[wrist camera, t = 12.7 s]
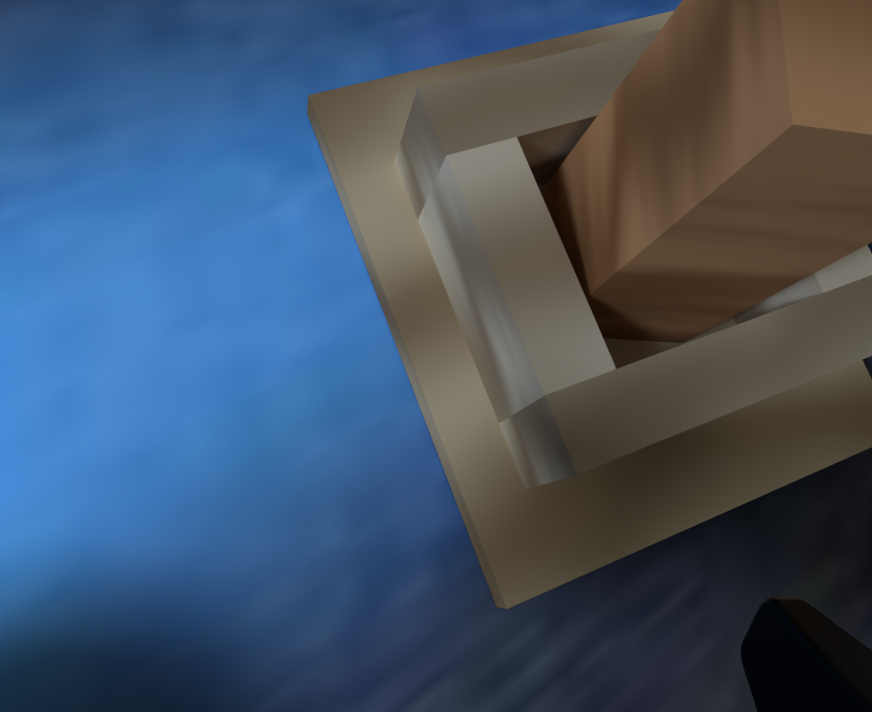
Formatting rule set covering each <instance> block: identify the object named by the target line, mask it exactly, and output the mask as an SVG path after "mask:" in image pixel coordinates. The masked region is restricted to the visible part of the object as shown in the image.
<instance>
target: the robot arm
mask: <svg viewBox="0 0 872 712" xmlns="http://www.w3.org/2000/svg"><path fill="white" fill-rule="evenodd" d="M741 659H742V664H743V667H744V671H745V674H746V677H747V680H748V683H749V687H750V690H751V693H752V696H753V699H754V703H755V706H756V709H757V712H872V651H871V650H870V649H869V648H867V647H866V646H865V645H863V644H862V643H861V642H859V641H858V640H857V639H855V638H854V637H853V636H851V635H850V634H848V633H847V632H846V631H844V630H843V629H842V628H840V627H839V626H838V625H836V624H835V623H834V622H832V621H831V620H830V619H828V618H827V617H826V616H824V615H823V614H822V613H820V612H819V611H817V610H816V609H815V608H813V607H812V606H811V605H809V604H808V603H807V602H805V601H804V600H802V599H799V598H795V597H770V598H767V599H765V600H764V601H763V602H762V603H761V605H760V606H759V608H758V610H757V612H756V614H755V616H754V619H753V621H752V623H751V625H750V627H749V629H748V631H747V633H746V635H745V637H744V639H743V642H742V646H741Z"/></svg>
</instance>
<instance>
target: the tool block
mask: <svg viewBox="0 0 872 712" xmlns="http://www.w3.org/2000/svg"><path fill="white" fill-rule="evenodd" d="M673 13H674V11H671V12H666V13H662V14H658V15H653V16H649V17H645V18H640V19H636V20H632V21H627V22H623V23H619V24H614V25H610V26H606V27H601V28H597V29H593V30H589V31H584V32H580V33H576V34H571V35H567V36H563V37H558V38H554V39H550V40H545V41H541V42H537V43H532V44H528V45H524V46H519V47H515V48H511V49H506V50H502V51H498V52H493V53H489V54H485V55H480V56H476V57H472V58H467V59H463V60H459V61H454V62H450V63H446V64H441V65H437V66H433V67H428V68H424V69H420V70H415V71H411V72H407V73H402V74H398V75H394V76H390V77H385V78H381V79H377V80H372V81H368V82H364V83H359V84H355V85H351V86H346V87H342V88H338V89H333V90H329V91H325V92H320V93H316V94H312V95H309V97H308V108H307V114H308V117H309V119H310V122H311V124H312V127H313V130H314V132H315V135H316V137H317V140H318V143H319V145H320V148H321V151H322V153H323V156H324V158H325V161H326V164H327V166H328V169H329V171H330V174H331V177H332V179H333V182H334V184H335V187H336V190H337V192H338V195H339V197H340V200H341V203H342V205H343V208H344V210H345V213H346V216H347V218H348V221H349V223H350V226H351V229H352V231H353V234H354V237H355V239H356V242H357V244H358V247H359V250H360V252H361V255H362V257H363V260H364V263H365V265H366V268H367V270H368V273H369V276H370V278H371V281H372V283H373V286H374V289H375V291H376V294H377V296H378V299H379V302H380V304H381V307H382V310H383V312H384V315H385V317H386V320H387V323H388V325H389V328H390V330H391V333H392V336H393V338H394V341H395V343H396V346H397V349H398V351H399V354H400V356H401V359H402V362H403V364H404V367H405V369H406V372H407V375H408V377H409V380H410V382H411V385H412V388H413V390H414V393H415V396H416V398H417V401H418V403H419V406H420V409H421V411H422V414H423V416H424V419H425V422H426V424H427V427H428V429H429V432H430V435H431V437H432V440H433V442H434V445H435V448H436V450H437V453H438V455H439V458H440V461H441V463H442V466H443V469H444V471H445V474H446V476H447V479H448V482H449V484H450V487H451V489H452V492H453V495H454V497H455V500H456V502H457V505H458V508H459V510H460V513H461V515H462V518H463V521H464V523H465V526H466V528H467V531H468V534H469V536H470V539H471V541H472V544H473V547H474V549H475V552H476V555H477V557H478V560H479V562H480V565H481V568H482V570H483V573H484V575H485V578H486V581H487V583H488V586H489V588H490V591H491V594H492V596H493V599H494V601H495V604H496V607H498V608H504V609H508V608H510V607H513V606H515V605H517V604H519V603H522V602H524V601H526V600H528V599H531V598H533V597H535V596H537V595H540V594H542V593H544V592H546V591H549V590H551V589H553V588H555V587H558V586H560V585H562V584H564V583H567V582H569V581H571V580H573V579H576V578H578V577H580V576H582V575H585V574H587V573H589V572H591V571H594V570H596V569H598V568H600V567H603V566H605V565H607V564H609V563H612V562H614V561H616V560H618V559H621V558H623V557H625V556H627V555H630V554H632V553H634V552H636V551H639V550H641V549H643V548H645V547H648V546H650V545H652V544H654V543H657V542H659V541H661V540H663V539H666V538H668V537H670V536H672V535H675V534H677V533H679V532H682V531H684V530H686V529H688V528H691V527H693V526H695V525H697V524H700V523H702V522H704V521H706V520H709V519H711V518H713V517H715V516H718V515H720V514H722V513H724V512H727V511H729V510H731V509H733V508H736V507H738V506H740V505H742V504H745V503H747V502H749V501H751V500H754V499H756V498H758V497H760V496H763V495H765V494H767V493H769V492H772V491H774V490H776V489H778V488H781V487H783V486H785V485H787V484H790V483H792V482H794V481H796V480H799V479H801V478H803V477H805V476H808V475H810V474H812V473H814V472H817V471H819V470H821V469H823V468H826V467H828V466H830V465H832V464H835V463H837V462H839V461H841V460H844V459H846V458H848V457H850V456H853V455H855V454H857V453H859V452H862V451H864V450H866V449H868V448H871V447H872V379H871V377H870V375H869V372H868V370H867V368H866V366H865V364H864V362H863V360H862V359H865V358H867V357H870V356H872V253H871V251H870V249H869V247H868V245H866V246H864V247H862V248H860V249H858V250H856V251H855V252H853V253H851V254H849V255H847V256H845V257H843V258H841V259H840V260H838V261H836V262H834V263H832V264H830V265H828V266H826V267H825V268H823V269H821V270H819V271H817V272H815V273H813V274H811V275H810V276H808V277H806V278H804V279H802V280H800V281H798V282H796V283H795V284H793V285H791V286H789V287H787V288H785V289H783V290H781V291H779V292H778V293H776V294H774V295H772V296H770V297H768V298H766V299H764V300H763V301H761V302H759V303H757V304H755V305H753V306H751V307H749V308H748V309H746V310H744V311H742V312H740V313H738V314H736V315H734V316H733V317H731V318H729V319H727V320H725V321H723V322H721V323H719V324H718V325H716V326H714V327H712V328H710V329H708V330H706V331H704V332H703V333H701V334H699V335H697V336H695V337H693V338H691V339H689V340H688V341H686V342H684V343H669V342H654V341H639V340H624V339H609V338H603V337H602V334H601V332H600V330H599V327H598V325H597V323H596V320H595V318H594V316H593V313H592V311H591V309H590V306H589V304H588V302H587V299H586V297H585V295H584V292H583V290H582V288H581V286H580V283H579V281H578V279H577V276H576V274H575V272H574V269H573V267H572V265H571V262H570V260H569V258H568V255H567V253H566V251H565V248H564V246H563V244H562V241H561V239H560V237H559V234H558V232H557V230H556V227H555V225H554V223H553V220H552V218H551V216H550V213H549V211H548V209H547V206H546V204H545V202H544V199H543V197H542V195H541V192H542V190H543V189H544V188H545V186H546V185H547V184H548V182H549V181H550V180H551V178H552V177H553V175H554V174H555V173H556V171H557V170H558V169H559V167H560V166H561V165H562V163H563V162H564V161H565V159H566V158H567V156H568V155H569V154H570V152H571V151H572V150H573V148H574V147H575V146H576V144H577V143H578V142H579V140H580V139H581V137H582V136H583V135H584V133H585V132H586V131H587V129H588V128H589V127H590V125H591V124H592V123H593V121H594V120H595V118H596V117H597V116H598V114H599V113H600V112H601V110H602V109H603V108H604V106H605V105H606V104H607V102H608V101H609V99H610V98H611V97H612V95H613V94H614V93H615V91H616V90H617V89H618V87H619V86H620V85H621V83H622V82H623V80H624V79H625V78H626V76H627V75H628V74H629V72H630V71H631V70H632V68H633V67H634V66H635V64H636V63H637V61H638V60H639V59H640V57H641V56H642V55H643V53H644V52H645V51H646V49H647V48H648V47H649V45H650V44H651V42H652V41H653V40H654V38H655V37H656V36H657V34H658V33H659V32H660V30H661V29H662V28H663V26H664V25H665V23H666V22H667V21H668V19H669V18H670V17H671V15H672V14H673Z"/></svg>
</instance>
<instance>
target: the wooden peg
mask: <svg viewBox="0 0 872 712" xmlns="http://www.w3.org/2000/svg"><path fill="white" fill-rule="evenodd" d="M541 195H542V197H543V199H544V202H545V204H546V206H547V209H548V211H549V213H550V216H551V218H552V220H553V223H554V225H555V227H556V230H557V232H558V234H559V237H560V239H561V241H562V244H563V246H564V248H565V251H566V253H567V255H568V258H569V260H570V262H571V265H572V267H573V269H574V272H575V274H576V276H577V279H578V281H579V283H580V286H581V288H582V290H583V292H584V295H585V297H586V299H587V302H588V304H589V306H590V309H591V311H592V313H593V316H594V318H595V320H596V323H597V325H598V327H599V330H600V332H601V334H602V337H603V338H609V339H624V340H639V341H654V342H669V343H684V342H686V341H688V340H689V339H691V338H693V337H695V336H697V335H699V334H701V333H703V332H704V331H706V330H708V329H710V328H712V327H714V326H716V325H718V324H719V323H721V322H723V321H725V320H727V319H729V318H731V317H733V316H734V315H736V314H738V313H740V312H742V311H744V310H746V309H748V308H749V307H751V306H753V305H755V304H757V303H759V302H761V301H763V300H764V299H766V298H768V297H770V296H772V295H774V294H776V293H778V292H779V291H781V290H783V289H785V288H787V287H789V286H791V285H793V284H795V283H796V282H798V281H800V280H802V279H804V278H806V277H808V276H810V275H811V274H813V273H815V272H817V271H819V270H821V269H823V268H825V267H826V266H828V265H830V264H832V263H834V262H836V261H838V260H840V259H841V258H843V257H845V256H847V255H849V254H851V253H853V252H855V251H856V250H858V249H860V248H862V247H864V246H866V245H868V244H870V243H871V242H872V0H682V2H681V3H680V5H679V6H678V7H677V9H676V10H675V11H674V13H673V14H672V15H671V17H670V18H669V19H668V21H667V22H666V23H665V25H664V26H663V28H662V29H661V30H660V32H659V33H658V34H657V36H656V37H655V38H654V40H653V41H652V42H651V44H650V45H649V47H648V48H647V49H646V51H645V52H644V53H643V55H642V56H641V57H640V59H639V60H638V61H637V63H636V64H635V66H634V67H633V68H632V70H631V71H630V72H629V74H628V75H627V76H626V78H625V79H624V80H623V82H622V83H621V85H620V86H619V87H618V89H617V90H616V91H615V93H614V94H613V95H612V97H611V98H610V99H609V101H608V102H607V104H606V105H605V106H604V108H603V109H602V110H601V112H600V113H599V114H598V116H597V117H596V118H595V120H594V121H593V123H592V124H591V125H590V127H589V128H588V129H587V131H586V132H585V133H584V135H583V136H582V137H581V139H580V140H579V142H578V143H577V144H576V146H575V147H574V148H573V150H572V151H571V152H570V154H569V155H568V156H567V158H566V159H565V161H564V162H563V163H562V165H561V166H560V167H559V169H558V170H557V171H556V173H555V174H554V175H553V177H552V178H551V180H550V181H549V182H548V184H547V185H546V186H545V188H544V189H543V190H542V192H541Z"/></svg>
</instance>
